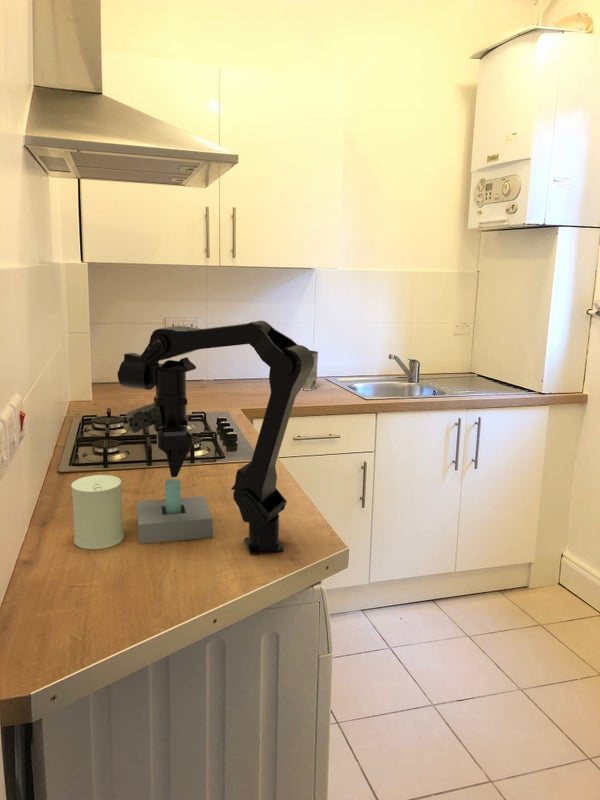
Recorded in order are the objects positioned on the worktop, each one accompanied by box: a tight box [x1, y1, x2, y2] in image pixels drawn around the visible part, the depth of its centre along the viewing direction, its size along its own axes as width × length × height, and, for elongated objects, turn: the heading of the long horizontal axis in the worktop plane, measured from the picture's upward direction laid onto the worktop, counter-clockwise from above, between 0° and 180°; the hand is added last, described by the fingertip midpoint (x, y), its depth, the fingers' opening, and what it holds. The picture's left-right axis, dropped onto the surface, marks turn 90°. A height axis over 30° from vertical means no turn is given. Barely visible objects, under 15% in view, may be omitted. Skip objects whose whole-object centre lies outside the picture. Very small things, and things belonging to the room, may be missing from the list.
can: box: [70, 474, 125, 550], centre depth 123 cm, size 9×9×12 cm
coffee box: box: [302, 349, 319, 390], centre depth 268 cm, size 9×6×16 cm
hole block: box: [136, 495, 213, 545], centre depth 130 cm, size 12×14×4 cm
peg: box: [164, 478, 182, 515], centre depth 129 cm, size 3×3×10 cm
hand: (172, 469), depth 127 cm, fingers open, 9 cm apart
